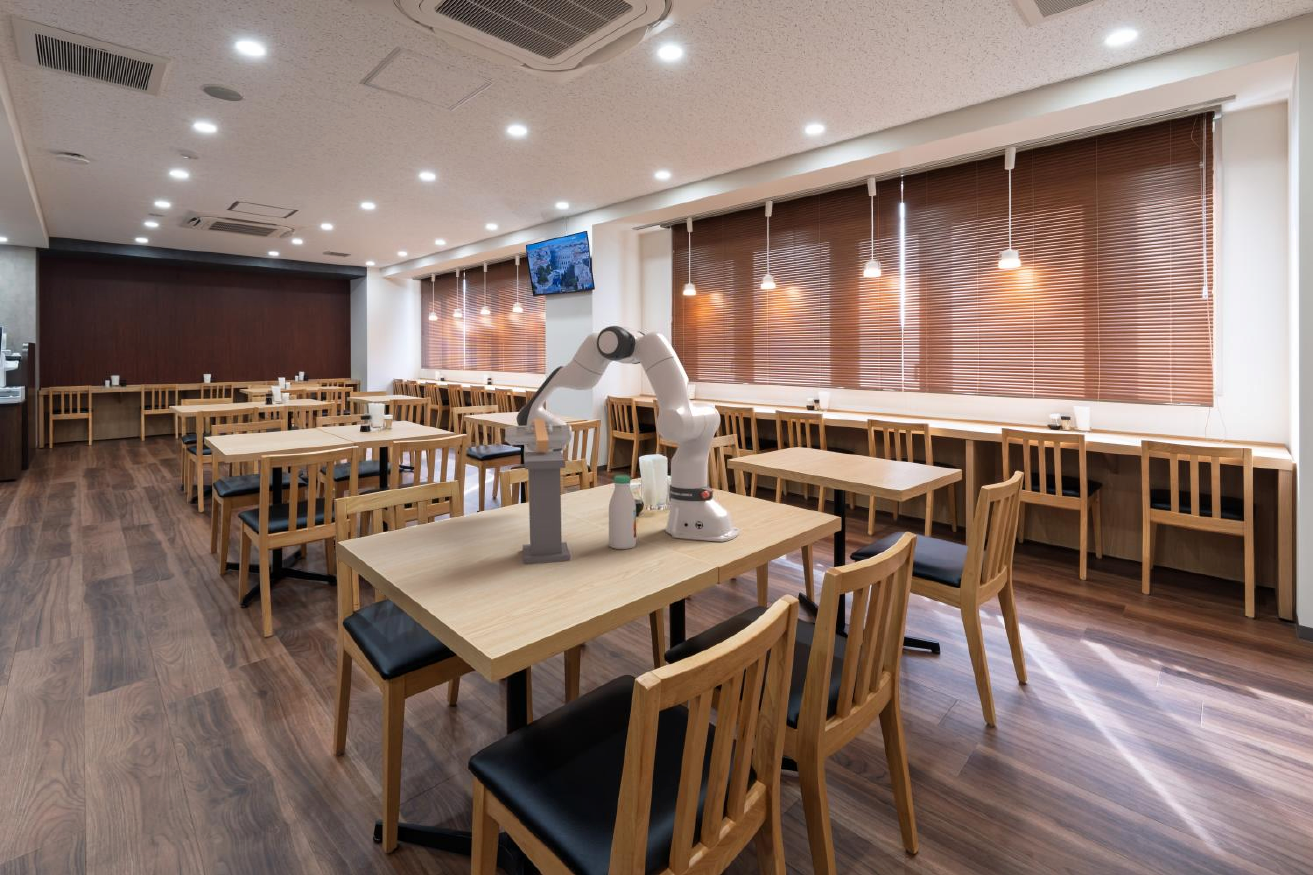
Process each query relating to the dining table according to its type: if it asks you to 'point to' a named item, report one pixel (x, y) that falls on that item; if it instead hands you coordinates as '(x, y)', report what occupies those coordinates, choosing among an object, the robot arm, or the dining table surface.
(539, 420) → the bar
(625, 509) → the milk bottle
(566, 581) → the dining table surface
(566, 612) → the dining table surface
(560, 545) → the stand
